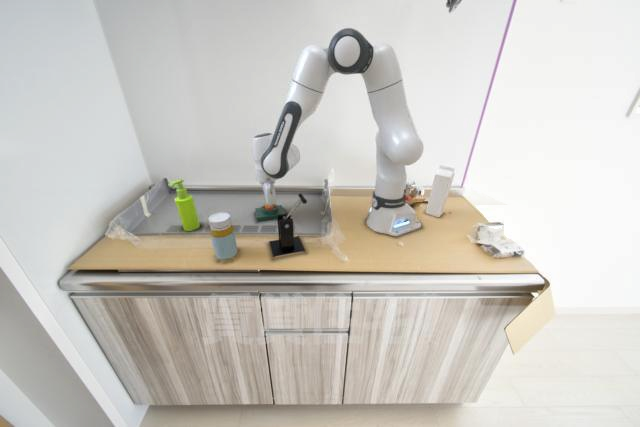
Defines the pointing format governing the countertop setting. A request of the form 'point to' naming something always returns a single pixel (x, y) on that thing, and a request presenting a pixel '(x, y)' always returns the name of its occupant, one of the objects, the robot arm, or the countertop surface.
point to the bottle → (223, 236)
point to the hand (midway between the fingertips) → (269, 205)
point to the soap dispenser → (185, 207)
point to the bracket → (285, 238)
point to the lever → (296, 206)
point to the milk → (440, 191)
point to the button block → (268, 213)
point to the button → (269, 207)
